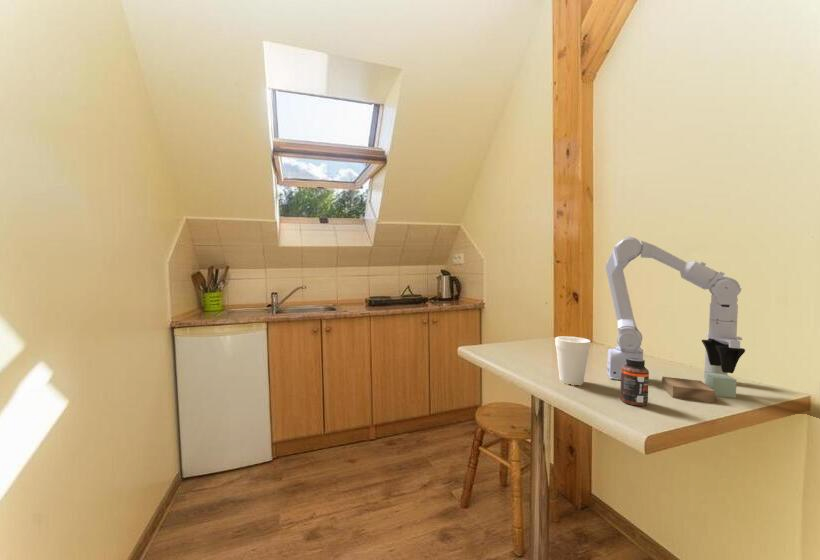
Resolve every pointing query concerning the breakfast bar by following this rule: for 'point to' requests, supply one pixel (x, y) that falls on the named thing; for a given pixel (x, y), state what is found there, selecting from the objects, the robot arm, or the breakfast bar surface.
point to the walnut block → (688, 389)
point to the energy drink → (711, 367)
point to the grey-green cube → (721, 384)
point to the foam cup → (572, 358)
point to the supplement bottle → (634, 382)
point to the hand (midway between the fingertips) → (721, 368)
